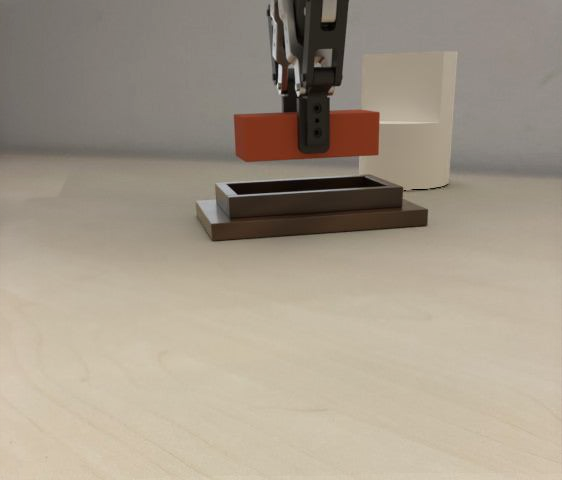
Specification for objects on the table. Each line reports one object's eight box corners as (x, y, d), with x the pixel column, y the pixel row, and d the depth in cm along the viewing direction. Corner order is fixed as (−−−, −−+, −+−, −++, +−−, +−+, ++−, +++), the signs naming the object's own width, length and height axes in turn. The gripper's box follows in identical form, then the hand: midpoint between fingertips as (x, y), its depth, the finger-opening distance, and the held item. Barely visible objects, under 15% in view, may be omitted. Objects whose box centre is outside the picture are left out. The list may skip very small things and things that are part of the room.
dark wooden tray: (212, 241, 49) (209, 201, 48) (196, 215, 58) (194, 181, 57) (427, 225, 52) (429, 188, 51) (381, 203, 61) (382, 171, 60)
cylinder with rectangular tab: (463, 180, 72) (473, 51, 67) (424, 193, 65) (432, 50, 60) (385, 175, 77) (390, 54, 72) (341, 186, 70) (343, 54, 65)
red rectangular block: (245, 162, 50) (243, 117, 49) (235, 155, 54) (233, 114, 53) (378, 155, 52) (380, 112, 51) (359, 149, 56) (360, 109, 55)
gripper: (228, -100, 52) (240, 144, 58) (267, -159, 39) (276, 162, 46) (327, -98, 53) (327, 140, 60) (395, -154, 40) (385, 157, 47)
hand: (305, 148), depth 53 cm, fingers closed on red rectangular block, 4 cm apart
